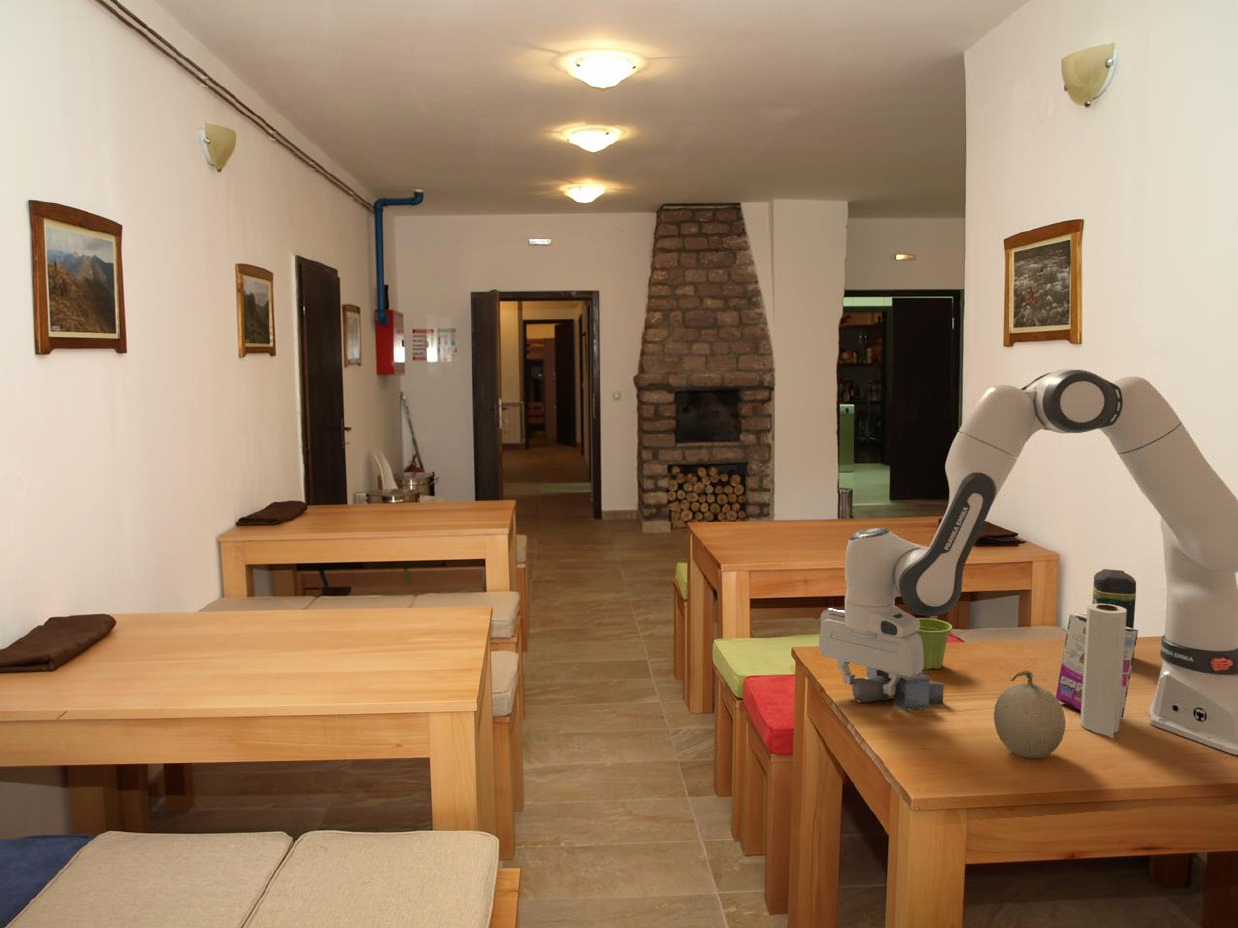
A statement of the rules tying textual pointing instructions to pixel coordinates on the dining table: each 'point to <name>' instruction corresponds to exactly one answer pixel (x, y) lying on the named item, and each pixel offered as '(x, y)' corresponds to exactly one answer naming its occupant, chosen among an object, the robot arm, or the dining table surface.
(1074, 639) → the candy bar box
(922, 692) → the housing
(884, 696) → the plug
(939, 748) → the dining table surface
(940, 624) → the plant pot
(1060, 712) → the fruit
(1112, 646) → the paper towel roll
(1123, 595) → the coffee jar
